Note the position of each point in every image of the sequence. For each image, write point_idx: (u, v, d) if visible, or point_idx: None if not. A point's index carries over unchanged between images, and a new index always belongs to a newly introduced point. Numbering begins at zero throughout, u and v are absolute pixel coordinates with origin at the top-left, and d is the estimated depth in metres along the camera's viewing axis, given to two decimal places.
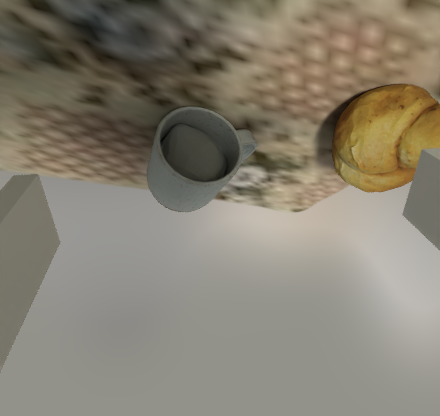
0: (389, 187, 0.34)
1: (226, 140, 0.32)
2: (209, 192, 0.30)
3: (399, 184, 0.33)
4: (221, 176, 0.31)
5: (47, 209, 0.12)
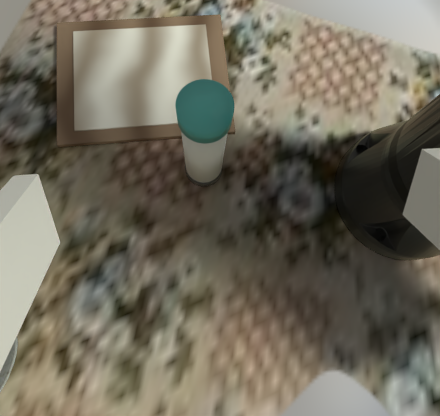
0: None
1: None
2: None
3: None
4: None
5: (47, 209, 0.12)
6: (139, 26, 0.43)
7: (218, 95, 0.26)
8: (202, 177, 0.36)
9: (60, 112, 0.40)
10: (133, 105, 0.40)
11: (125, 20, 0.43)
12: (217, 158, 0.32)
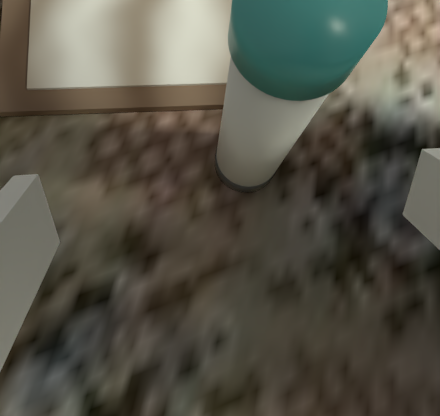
0: None
1: None
2: None
3: None
4: None
5: (47, 209, 0.12)
6: None
7: None
8: (249, 177, 0.20)
9: (4, 57, 0.23)
10: (129, 51, 0.24)
11: None
12: (292, 142, 0.16)
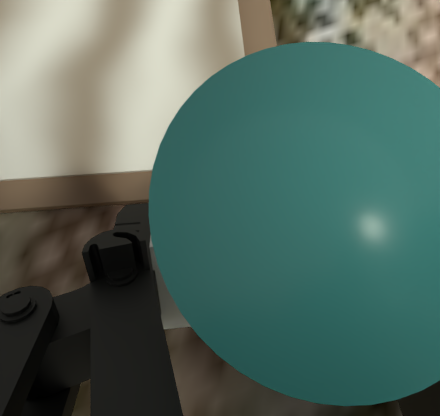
0: None
1: None
2: None
3: None
4: None
5: None
6: None
7: (409, 139, 0.04)
8: None
9: None
10: (75, 127, 0.18)
11: None
12: None
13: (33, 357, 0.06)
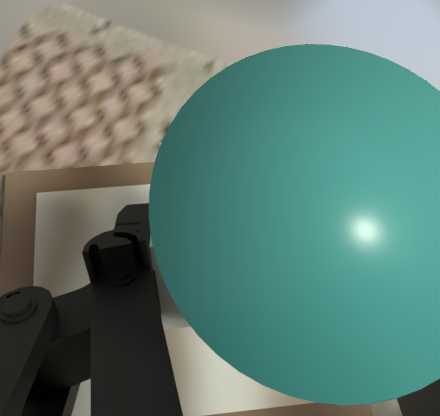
0: None
1: None
2: None
3: None
4: None
5: None
6: None
7: (407, 140, 0.04)
8: None
9: None
10: None
11: (140, 165, 0.22)
12: None
13: (33, 357, 0.06)
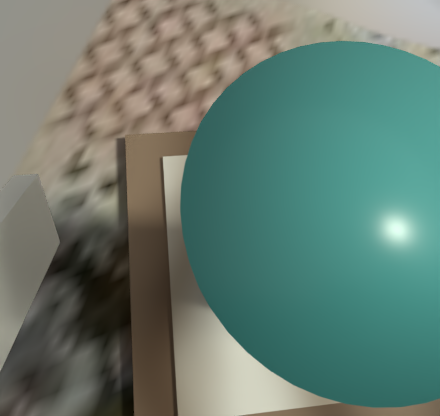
0: None
1: None
2: None
3: None
4: None
5: (47, 209, 0.12)
6: None
7: None
8: None
9: (141, 368, 0.17)
10: None
11: None
12: None
13: None
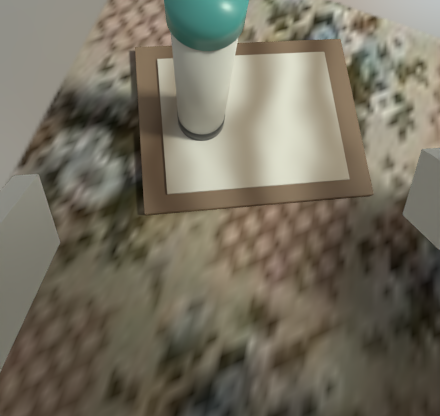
0: None
1: None
2: None
3: None
4: None
5: (47, 209, 0.12)
6: (240, 53, 0.33)
7: None
8: (199, 124, 0.28)
9: (146, 168, 0.30)
10: (241, 159, 0.31)
11: None
12: (220, 90, 0.24)
13: None
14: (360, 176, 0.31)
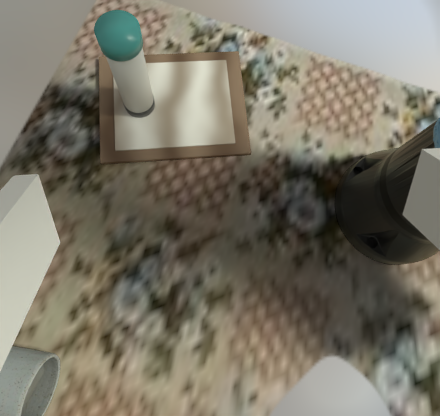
0: None
1: None
2: (1, 411, 0.32)
3: None
4: None
5: (47, 209, 0.12)
6: (169, 60, 0.50)
7: (128, 22, 0.35)
8: (133, 105, 0.45)
9: (102, 134, 0.47)
10: (165, 129, 0.47)
11: (157, 55, 0.50)
12: (139, 83, 0.41)
13: None
14: (243, 141, 0.48)
